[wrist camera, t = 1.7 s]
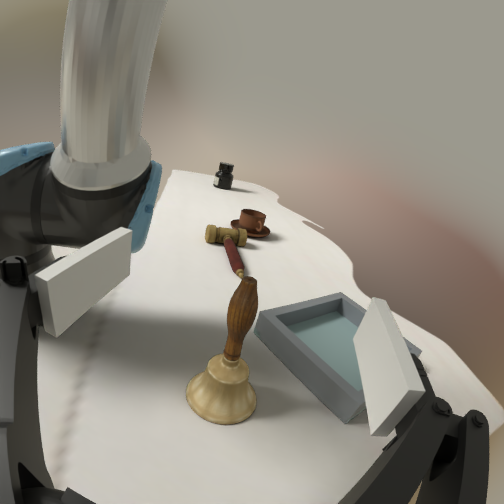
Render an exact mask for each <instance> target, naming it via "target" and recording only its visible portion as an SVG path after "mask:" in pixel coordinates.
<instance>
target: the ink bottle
mask: <svg viewBox="0 0 504 504" xmlns="http://www.w3.org/2000/svg"><path fill="white" fill-rule="evenodd" d="M233 167H234V165H232V164H229V163H223V162H220V166H219V170H220V171H218V172H217V173H216V175H215V179H214V184H213V185H214V186H215V187H217V188H221V189H231V185H232V181H233V175H232V174H231V173H232V171H233Z"/></svg>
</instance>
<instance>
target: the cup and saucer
mask: <svg viewBox="0 0 504 504" xmlns="http://www.w3.org/2000/svg"><path fill="white" fill-rule="evenodd" d="M265 218H266V215H265V214H263V213H261V212H259V211H256V210H251V209H243V210H242V211H241V215H240V220H233V221H231V226H232V228H233V229H235V230H237V229H238V228H240V229H246V231H247V236H251V237H264V236H267V235H269V233H270V230H269V228H267V227H266V226H264V222H265Z"/></svg>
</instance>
